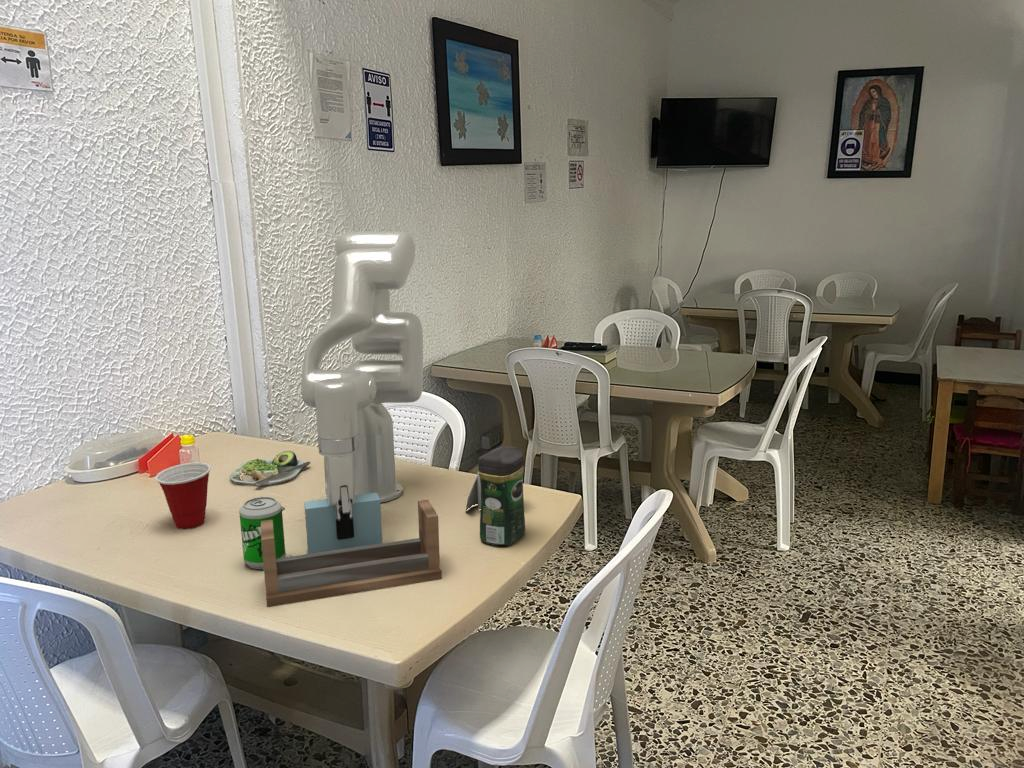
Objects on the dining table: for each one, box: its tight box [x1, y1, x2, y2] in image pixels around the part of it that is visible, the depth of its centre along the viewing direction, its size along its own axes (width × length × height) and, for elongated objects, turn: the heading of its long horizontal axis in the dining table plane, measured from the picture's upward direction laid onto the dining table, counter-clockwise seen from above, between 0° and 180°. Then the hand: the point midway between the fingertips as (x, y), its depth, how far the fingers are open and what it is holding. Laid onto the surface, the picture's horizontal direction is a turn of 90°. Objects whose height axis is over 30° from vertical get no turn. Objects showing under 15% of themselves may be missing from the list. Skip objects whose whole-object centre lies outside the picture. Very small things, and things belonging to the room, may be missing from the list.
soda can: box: [238, 496, 286, 570], centre depth 142 cm, size 8×8×12 cm
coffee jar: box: [477, 445, 526, 546], centre depth 151 cm, size 10×8×19 cm
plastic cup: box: [154, 461, 212, 530], centre depth 160 cm, size 11×11×12 cm
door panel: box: [303, 493, 383, 554], centre depth 148 cm, size 4×14×10 cm, turn 108°
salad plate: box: [229, 450, 311, 487], centre depth 189 cm, size 19×18×5 cm
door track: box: [261, 499, 443, 608], centre depth 136 cm, size 11×30×12 cm, turn 109°
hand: (344, 532), depth 148 cm, fingers closed on door panel, 4 cm apart
